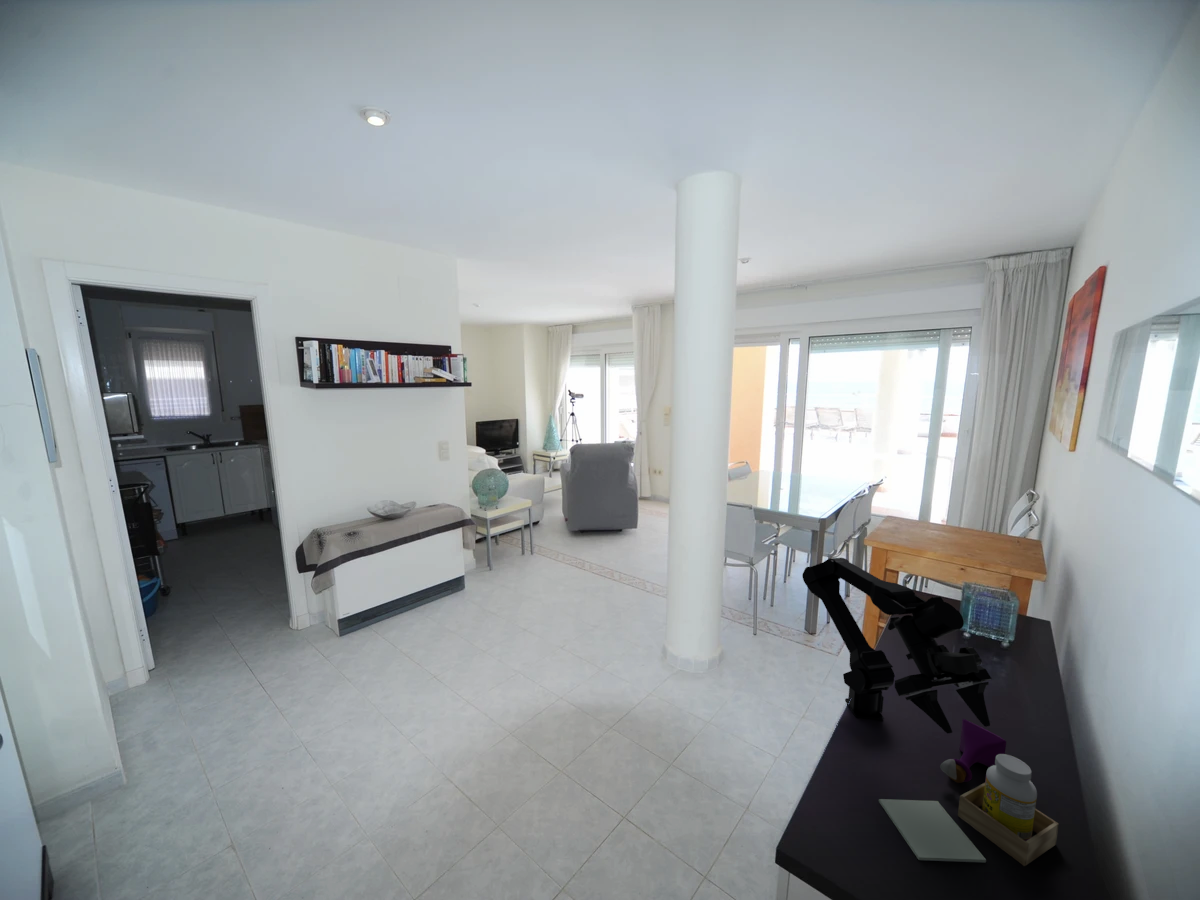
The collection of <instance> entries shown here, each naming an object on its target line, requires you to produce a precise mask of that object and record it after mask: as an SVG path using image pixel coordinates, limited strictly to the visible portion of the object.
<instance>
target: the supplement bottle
mask: <svg viewBox="0 0 1200 900" xmlns="http://www.w3.org/2000/svg"><path fill="white" fill-rule="evenodd" d="M1032 773H1033V772H1032V769H1031V767H1030V766H1029V765H1028V764H1027V763H1026V762H1024V761H1023V760H1021V759H1019V758H1018V757H1016V756H1012V755H1011V754H1006V753H1005V754H998V755H997V756H996V759H995V765H993V766H991V767H988V768H987V770H986V774H985V782H984V783H985V789H984V797H983V805H982V806H981V810H983V811H984V812H985V813H987V814H988V815H990V816H991V817H992V818H994V819H995V820H997V821H998V822H999V823H1001V824H1002V825H1004V826H1005V827H1006V828H1008V829H1009V830H1011V831H1012V832H1013V833H1015V834H1016V835H1018V836H1019V837H1020V838H1022V839H1023V840H1025V841H1027V840H1029V839H1030V838H1032V837H1033V822H1034V815H1035V809H1036V806H1037V800H1038V799H1037V798H1038V791H1037V788H1036V786H1035V784H1033V782H1032V780H1031V779H1032Z"/></svg>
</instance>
